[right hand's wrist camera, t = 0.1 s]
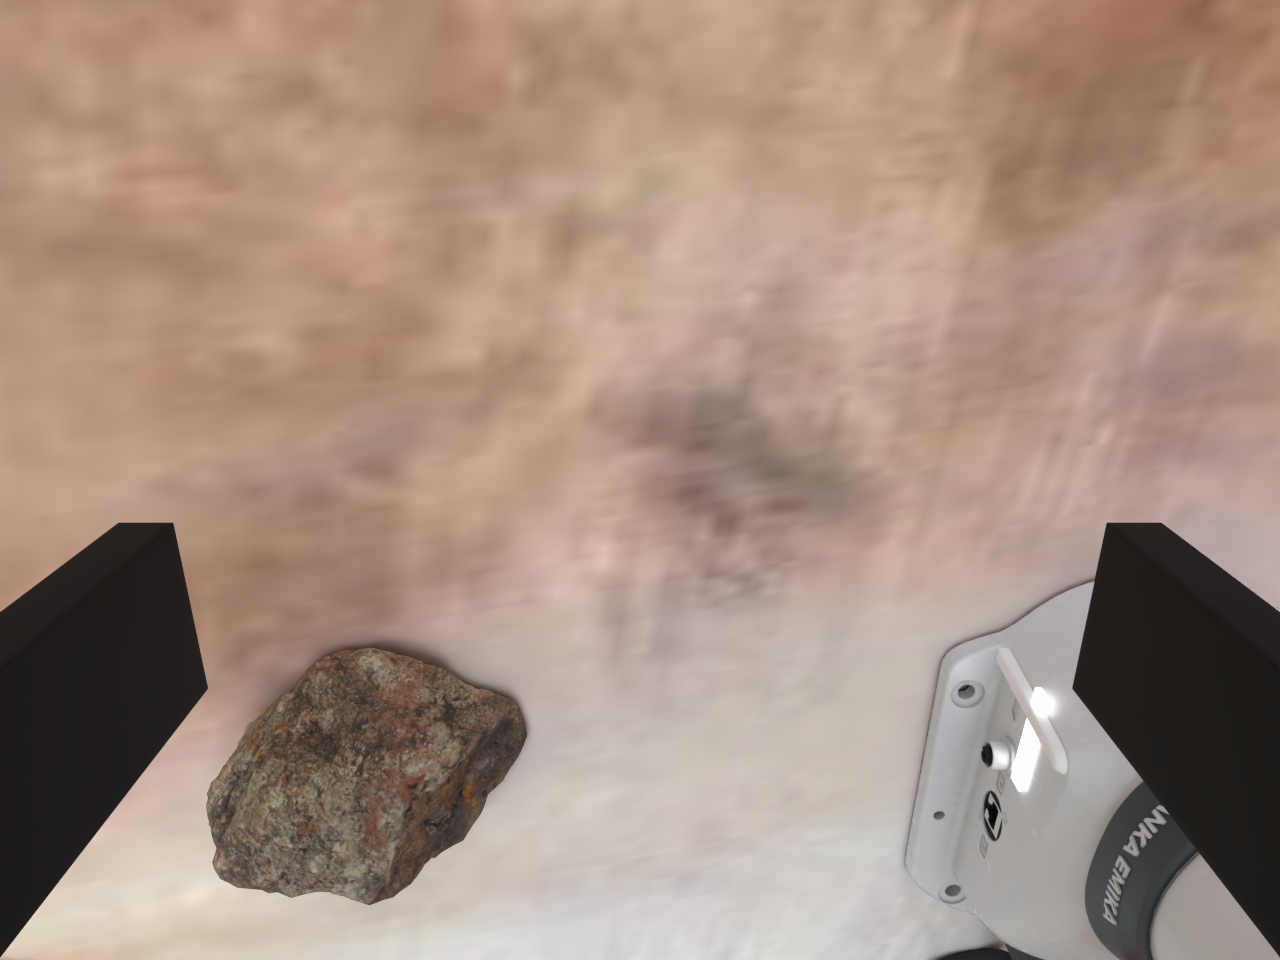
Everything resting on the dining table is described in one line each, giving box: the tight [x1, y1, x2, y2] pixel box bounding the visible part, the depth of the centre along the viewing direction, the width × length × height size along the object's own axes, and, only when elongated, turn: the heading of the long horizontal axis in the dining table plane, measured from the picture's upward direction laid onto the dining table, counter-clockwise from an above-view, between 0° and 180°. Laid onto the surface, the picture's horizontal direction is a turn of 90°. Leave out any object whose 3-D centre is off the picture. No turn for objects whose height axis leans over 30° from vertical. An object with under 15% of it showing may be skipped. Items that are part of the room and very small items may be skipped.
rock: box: [206, 648, 527, 905], centre depth 43 cm, size 14×9×10 cm
